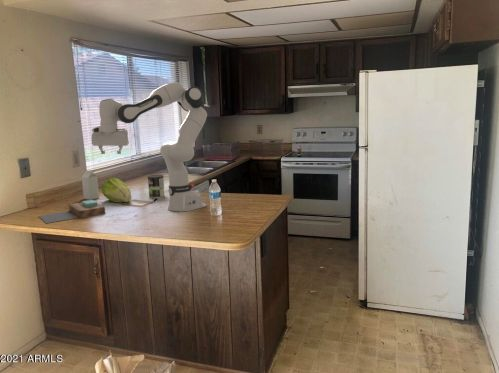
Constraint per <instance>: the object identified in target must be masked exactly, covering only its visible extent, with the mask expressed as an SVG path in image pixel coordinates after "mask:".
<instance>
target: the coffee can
mask: <svg viewBox="0 0 499 373" xmlns="http://www.w3.org/2000/svg"><path fill="white" fill-rule="evenodd" d="M164 181H165V180H164V175H162V174H153V175H148V176H147V184H148V197H149V199H161V198H164V197H165V185H164V184H165V183H164Z"/></svg>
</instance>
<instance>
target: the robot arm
mask: <svg viewBox="0 0 499 373" xmlns="http://www.w3.org/2000/svg"><path fill="white" fill-rule="evenodd" d="M176 102H177V104H178V105H179V107H181V108H182V110H183V111H185V112H188V114H187V115H186V117H184V118H185V119H184V120H183V122H182V124H181V125H180V127H179V128H178V136H177V137H178V138H177V140H176V141H167V142H165V143H163V144H162V145H161V147H160V150H159V151H160V155H161V157H162V158H163V159H164V162H165V165H166V166H165V167H166V168H167V173H168V183H169V185H168V195H169V200H168V201H169V202H168V206H167V210H168V211H173V212H190V211H193V210H197V209H201V208H205V207H207V204H206V203H205V202H203V199H202V196H201V195H199V194H198V193H197V192H196V191H194V190H193V189H194V188H195V185H194V184H190V183H189V172H188V171H189V170H188V169H187V168H186V166H185V164H184V163H185V162H190V161H191V160H192V159H193V158H194V155H195V149H194V145H195V142H196V139H197V138H198V136H199V134H200V132H201V130H202V129H203V127H204V124H205V123H206V121H207V117H208V113H207V111H206V109H205V108H204V107H202V106H203V105H204V104H203V103H204V93H203V91H202V89H201V88H199V86H195V85H194V86H189V87H188V88H186V89H185V88H184V86H183V85H182V84H181V83H180V82H177V81H175V82H169V83H166V84H163V85H161V86H160V87H157V88H155V89H154V90H152V91H151V93H150V95H149V96H148V97H147V98H145V99H143V100H139V102H136V103H133V104H132V103H121V102H119V101H118V100H116V99H114V98H107V99H106V98H105V99H103V100H101V101H100V102H99V105H98V106H99V108H98V110H99V117H100V118H99V119H100V122H99V123H100V126H96V127H93V128H92V129H91V131H92V134H91V145H92V146H94V147H98V149H99V151H100V154H101V155H104V154H106V150H104V148H103V147H105V146H107V147H108V146H109V147H110V146H111V147H112V146H113V147H114V146H115V147H116V146H118V150H117V151H116V154H117V155H121V154H122V149H123V146H124V147H125V146H128V145H129V137H128V135H129V133H128V130H127V129H125V128H118V122H122V123H124V124H132V123H134V122H135V121H136V120H137V119H138V118H139V116H141V115H143V114H145V113H147V112H150V111H151V110H154V109H158V108H164V107H166V106H170V105H171V104H173V103H176Z"/></svg>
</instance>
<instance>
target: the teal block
mask: <svg viewBox="0 0 499 373" xmlns="http://www.w3.org/2000/svg"><path fill="white" fill-rule="evenodd" d="M81 203H82V205H84V206H85V207H92V206H98V205H97V203H98V201H95V199H92V200H88V199H87V200H82V201H81Z"/></svg>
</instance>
